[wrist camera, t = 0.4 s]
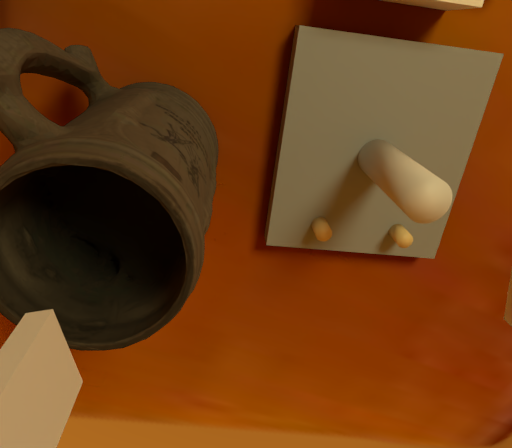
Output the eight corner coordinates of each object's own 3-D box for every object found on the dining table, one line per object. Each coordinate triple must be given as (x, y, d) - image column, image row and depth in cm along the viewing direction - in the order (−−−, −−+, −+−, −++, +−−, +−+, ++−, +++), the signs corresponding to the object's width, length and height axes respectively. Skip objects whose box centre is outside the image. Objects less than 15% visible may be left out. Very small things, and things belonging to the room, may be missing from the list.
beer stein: (249, 165, 37) (255, 276, 18) (156, 235, 39) (77, 398, 20) (125, 7, 32) (-39, -63, 13) (28, 96, 34) (-231, 143, 15)
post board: (295, 25, 32) (331, 23, 21) (488, 52, 34) (612, 63, 23) (264, 235, 40) (279, 313, 29) (424, 248, 41) (496, 326, 31)
